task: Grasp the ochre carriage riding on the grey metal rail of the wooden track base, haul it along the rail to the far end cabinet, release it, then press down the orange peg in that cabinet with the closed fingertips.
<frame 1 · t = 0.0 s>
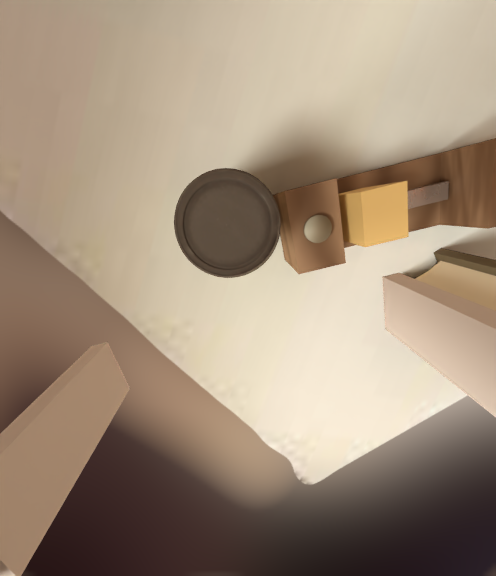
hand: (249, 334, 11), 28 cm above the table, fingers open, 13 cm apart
wooden track base: (374, 205, 37), on the table
coffee can: (230, 220, 37), on the table
carriage: (363, 214, 31), point 7 cm above the table, slide at -5.0 cm
book: (436, 313, 44), on the table
bar: (383, 205, 35), point 2 cm above the table
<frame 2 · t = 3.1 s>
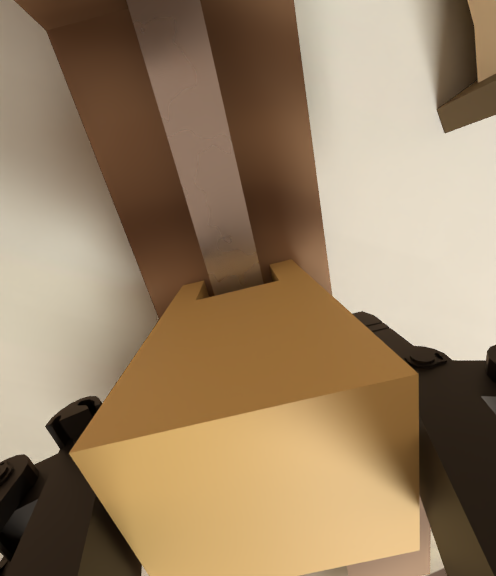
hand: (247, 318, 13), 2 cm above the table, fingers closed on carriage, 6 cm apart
wooden track base: (225, 223, 14), on the table
carriage: (253, 364, 9), point 6 cm above the table, slide at -5.0 cm, touching gripper
bar: (223, 226, 11), point 2 cm above the table
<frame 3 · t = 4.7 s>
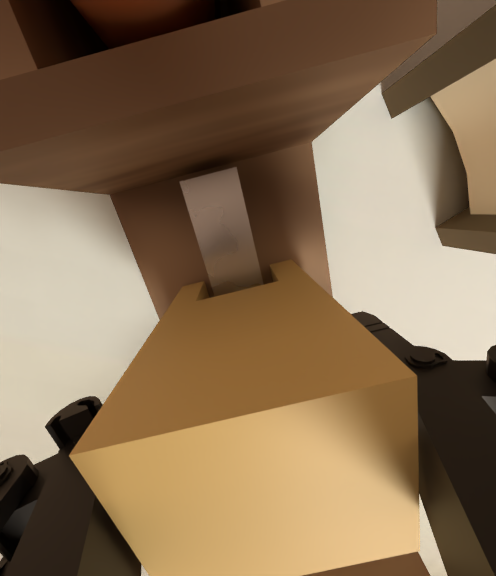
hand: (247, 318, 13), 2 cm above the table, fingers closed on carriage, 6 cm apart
wooden track base: (250, 319, 16), on the table
carriage: (253, 365, 9), point 7 cm above the table, slide at 1.3 cm, touching gripper
bar: (253, 339, 13), point 2 cm above the table
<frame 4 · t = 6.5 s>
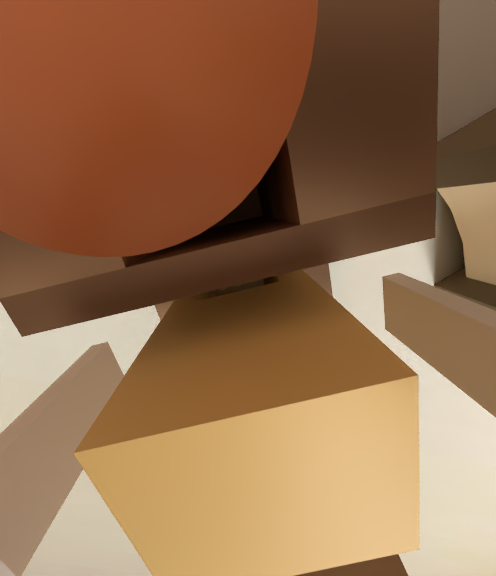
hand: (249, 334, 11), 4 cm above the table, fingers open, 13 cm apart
wooden track base: (262, 365, 17), on the table
orange peg: (178, 140, 4), point 10 cm above the table, slide at 0.0 cm
carriage: (254, 365, 9), point 7 cm above the table, slide at 4.9 cm
bar: (267, 390, 15), point 2 cm above the table
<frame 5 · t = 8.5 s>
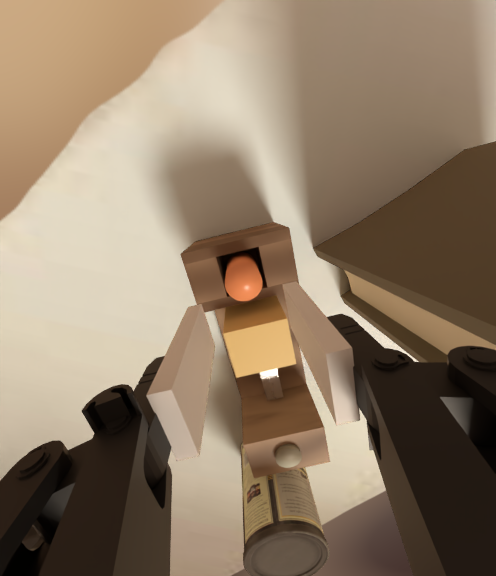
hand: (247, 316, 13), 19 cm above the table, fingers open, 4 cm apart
wooden track base: (260, 335, 35), on the table
coffee can: (270, 446, 42), on the table
orange peg: (242, 273, 22), point 9 cm above the table, slide at 0.0 cm
carriage: (256, 326, 27), point 7 cm above the table, slide at 4.9 cm
book: (403, 229, 31), on the table
bar: (262, 344, 33), point 2 cm above the table
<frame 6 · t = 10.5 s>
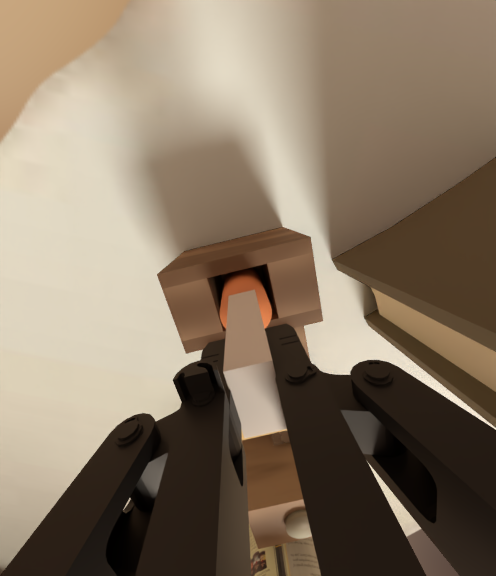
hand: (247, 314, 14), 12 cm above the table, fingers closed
wooden track base: (264, 364, 29), on the table
coffee can: (275, 490, 36), on the table
orange peg: (243, 296, 17), point 8 cm above the table, slide at 1.1 cm, touching gripper
carriage: (262, 363, 21), point 7 cm above the table, slide at 4.9 cm
book: (445, 236, 25), on the table
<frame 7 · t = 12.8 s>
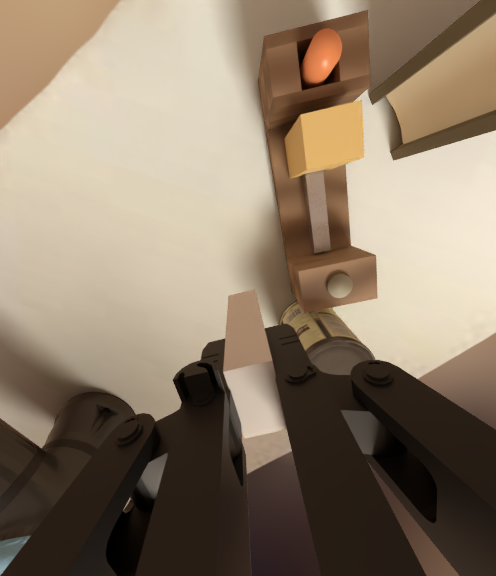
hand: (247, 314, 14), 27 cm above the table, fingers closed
wooden track base: (309, 192, 36), on the table
coffee can: (307, 323, 44), on the table
orange peg: (316, 67, 25), point 8 cm above the table, slide at 1.5 cm
carriage: (319, 146, 29), point 7 cm above the table, slide at 4.9 cm
book: (457, 78, 32), on the table
bar: (314, 191, 34), point 2 cm above the table
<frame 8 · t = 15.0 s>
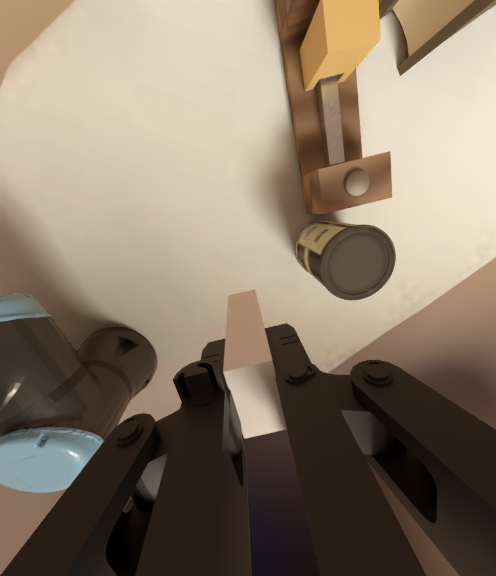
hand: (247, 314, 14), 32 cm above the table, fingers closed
wooden track base: (322, 109, 39), on the table
coffee can: (321, 248, 46), on the table
carriage: (335, 45, 31), point 6 cm above the table, slide at 4.9 cm
bar: (328, 103, 36), point 2 cm above the table
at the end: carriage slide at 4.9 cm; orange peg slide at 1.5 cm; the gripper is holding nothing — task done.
